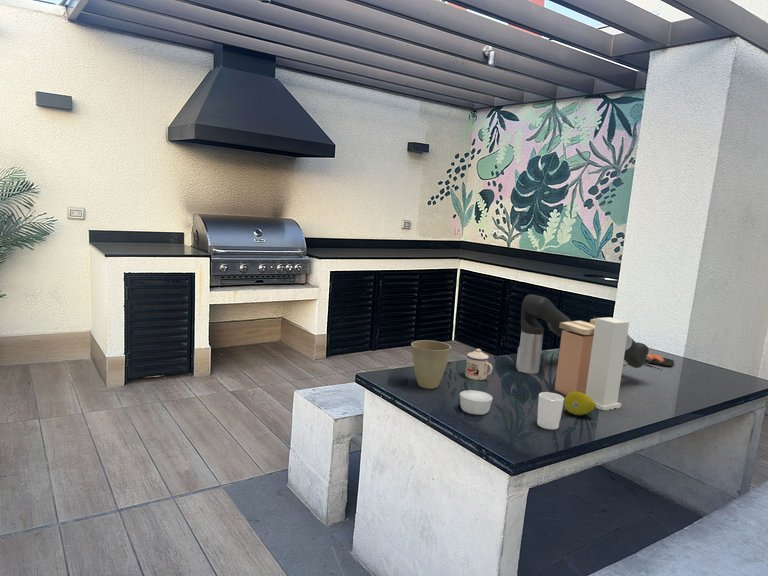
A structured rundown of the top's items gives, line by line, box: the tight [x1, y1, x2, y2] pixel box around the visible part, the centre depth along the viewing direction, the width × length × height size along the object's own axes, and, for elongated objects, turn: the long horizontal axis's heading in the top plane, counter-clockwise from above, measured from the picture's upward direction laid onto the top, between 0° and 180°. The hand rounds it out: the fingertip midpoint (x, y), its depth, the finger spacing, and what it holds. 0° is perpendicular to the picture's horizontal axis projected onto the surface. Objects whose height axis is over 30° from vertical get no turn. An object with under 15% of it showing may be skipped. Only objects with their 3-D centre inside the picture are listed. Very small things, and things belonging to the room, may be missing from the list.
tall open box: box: [554, 330, 594, 396], centre depth 216 cm, size 10×10×24 cm
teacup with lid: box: [464, 348, 493, 381], centre depth 226 cm, size 12×9×12 cm
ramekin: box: [459, 389, 493, 416], centre depth 191 cm, size 11×11×5 cm
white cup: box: [536, 391, 565, 431], centre depth 181 cm, size 8×8×10 cm
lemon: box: [563, 391, 596, 416], centre depth 193 cm, size 11×8×8 cm
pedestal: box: [586, 316, 630, 411], centre depth 204 cm, size 10×10×32 cm
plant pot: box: [410, 339, 452, 390], centre depth 211 cm, size 15×15×16 cm
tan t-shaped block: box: [559, 318, 596, 335], centre depth 216 cm, size 22×12×4 cm, turn 121°
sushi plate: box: [623, 353, 675, 371], centre depth 272 cm, size 29×30×4 cm
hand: (597, 319), depth 217 cm, fingers closed on tan t-shaped block, 3 cm apart
